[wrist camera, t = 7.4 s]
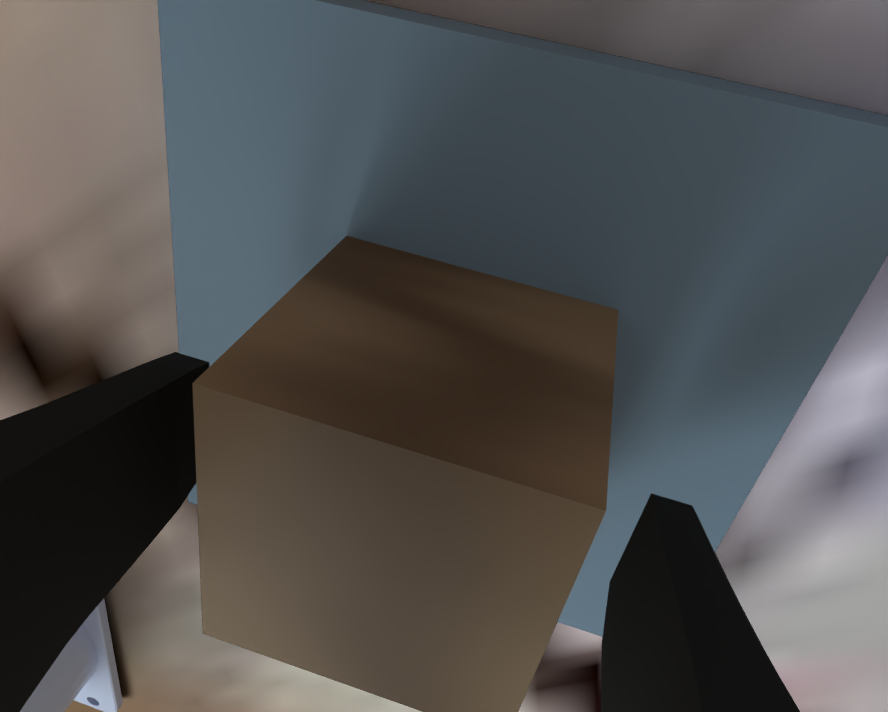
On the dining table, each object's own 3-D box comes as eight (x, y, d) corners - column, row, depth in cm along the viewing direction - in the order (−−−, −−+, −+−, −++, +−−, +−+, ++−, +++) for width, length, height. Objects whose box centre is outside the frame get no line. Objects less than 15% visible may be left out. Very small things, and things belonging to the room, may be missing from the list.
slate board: (213, 471, 18) (188, 502, 17) (197, -36, 12) (155, -36, 10) (654, 611, 17) (655, 653, 16) (922, 123, 10) (953, 142, 9)
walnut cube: (325, 443, 15) (202, 633, 11) (346, 235, 12) (191, 383, 8) (544, 511, 14) (504, 741, 10) (618, 309, 12) (605, 510, 7)
